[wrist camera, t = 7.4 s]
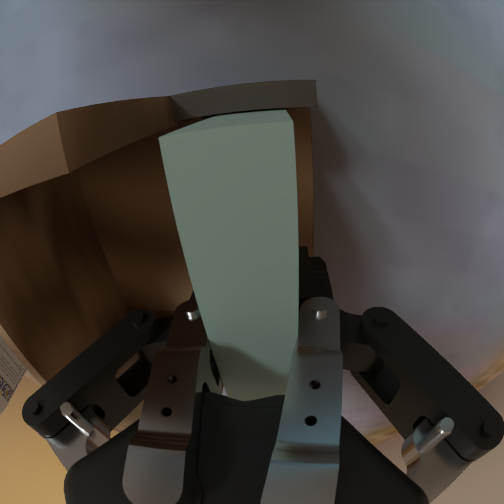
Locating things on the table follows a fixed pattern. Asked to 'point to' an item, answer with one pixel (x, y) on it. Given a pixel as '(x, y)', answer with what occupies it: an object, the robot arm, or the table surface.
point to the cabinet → (111, 217)
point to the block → (240, 241)
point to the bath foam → (9, 373)
